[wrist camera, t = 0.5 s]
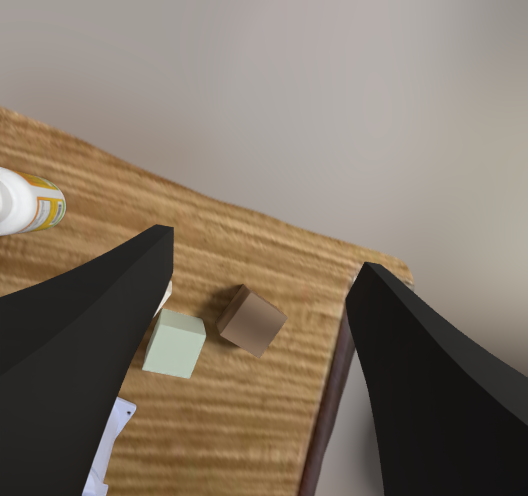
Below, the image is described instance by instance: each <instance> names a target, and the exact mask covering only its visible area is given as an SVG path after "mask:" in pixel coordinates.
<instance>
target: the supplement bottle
mask: <svg viewBox="0 0 528 496" xmlns="http://www.w3.org/2000/svg"><path fill="white" fill-rule="evenodd" d="M65 210H66V202H65V198H64V196H63V194H62V192H61V191H60V190H59V189H58V188H57V187H56V186H55V185H54V184H53V183H51V182H50V181H48V180H46V179H43V178H40V177H37V176H33V175H29V174H25V173H21V172H18V171H14V170H10V169H6V168H2V167H0V236H1V235H10V234H17V233H24V232H32V231H39V230H45V229H48V228H51V227H53V226H54V225H56V224H57V223H58V222H59V221H60V220H61V219H62V218H63V216H64V214H65Z"/></svg>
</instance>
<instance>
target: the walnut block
mask: <svg viewBox="0 0 528 496" xmlns="http://www.w3.org/2000/svg"><path fill="white" fill-rule="evenodd" d="M287 319H288V317H287V316H286V315H285V314H283V313H282V312H281V311H280V310H279V309H278V308H277V307H276V306H274V305H273V304H271V303H270V302H268V301H267V300H265V299H264V298H263V297H261V296H260V295H258V294H257V293H255V292H254V291H253V290H251V289H250V288H248V287H247V286H245V285H244V284H243V285H242V287H241V288H240V289H239V291H238V292H237V293H236V295H235V296H234V298H233V299H232V300H231V302H230V303H229V304H228V306H227V307H226V308H225V310H224V311H223V313H222V314H221V315H220V317H219V318H218V319H217V321H216V322H215V323H216V325H217V328H218V331H219V333H220V335H221V336H222V337H224V338H226V339H227V340H229V341H231V342H232V343H234V344H236V345H238V346H239V347H241V348H243V349H244V350H246V351H248V352H249V353H251V354H253V355H254V356H256V357H258V358H259V359H260V357H261V356H262V354H263V353H264V352H265V350H266V349H267V347H268V346H269V344H270V343H271V342H272V340H273V339H274V337H275V336H276V334H277V333H278V332H279V330H280V329H281V327H282V326H283V324H284V323H285V322H286V320H287Z"/></svg>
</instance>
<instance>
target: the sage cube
mask: <svg viewBox="0 0 528 496" xmlns="http://www.w3.org/2000/svg"><path fill="white" fill-rule="evenodd" d="M205 338H206V332H205V328H204V324H203V320H202V319H201V318H197V317H193V316H190V315H186V314H182V313H178V312H175V311H171V310H167V309H163V308H162V310H161V313H160V315H159V318H158V320H157V323H156V326H155V328H154V331H153V333H152V336H151V338H150V341H149V343H148V346H147V350H146V354H145V359H144V363H143V368H142V370H146V371H151V372H157V373H162V374H167V375H173V376H178V377H183V378H189V379H190V376H191V374H192V371H193V369H194V366H195V363H196V361H197V358H198V356H199V353H200V351H201V348H202V346H203V343H204V341H205Z"/></svg>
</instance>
